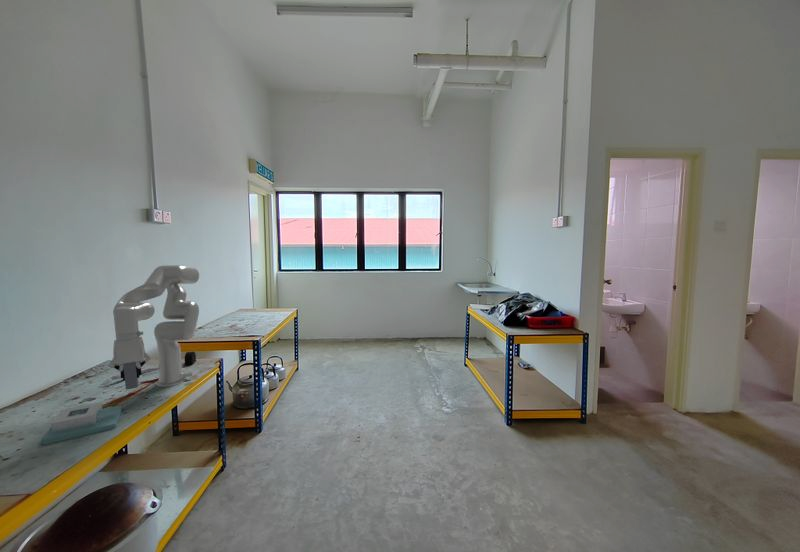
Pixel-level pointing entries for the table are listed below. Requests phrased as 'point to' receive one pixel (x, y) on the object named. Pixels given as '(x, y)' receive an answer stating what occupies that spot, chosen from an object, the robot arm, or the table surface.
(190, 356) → the tape measure
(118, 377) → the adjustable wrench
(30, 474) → the table surface
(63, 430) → the chuck block
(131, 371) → the key pin
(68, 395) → the table surface
